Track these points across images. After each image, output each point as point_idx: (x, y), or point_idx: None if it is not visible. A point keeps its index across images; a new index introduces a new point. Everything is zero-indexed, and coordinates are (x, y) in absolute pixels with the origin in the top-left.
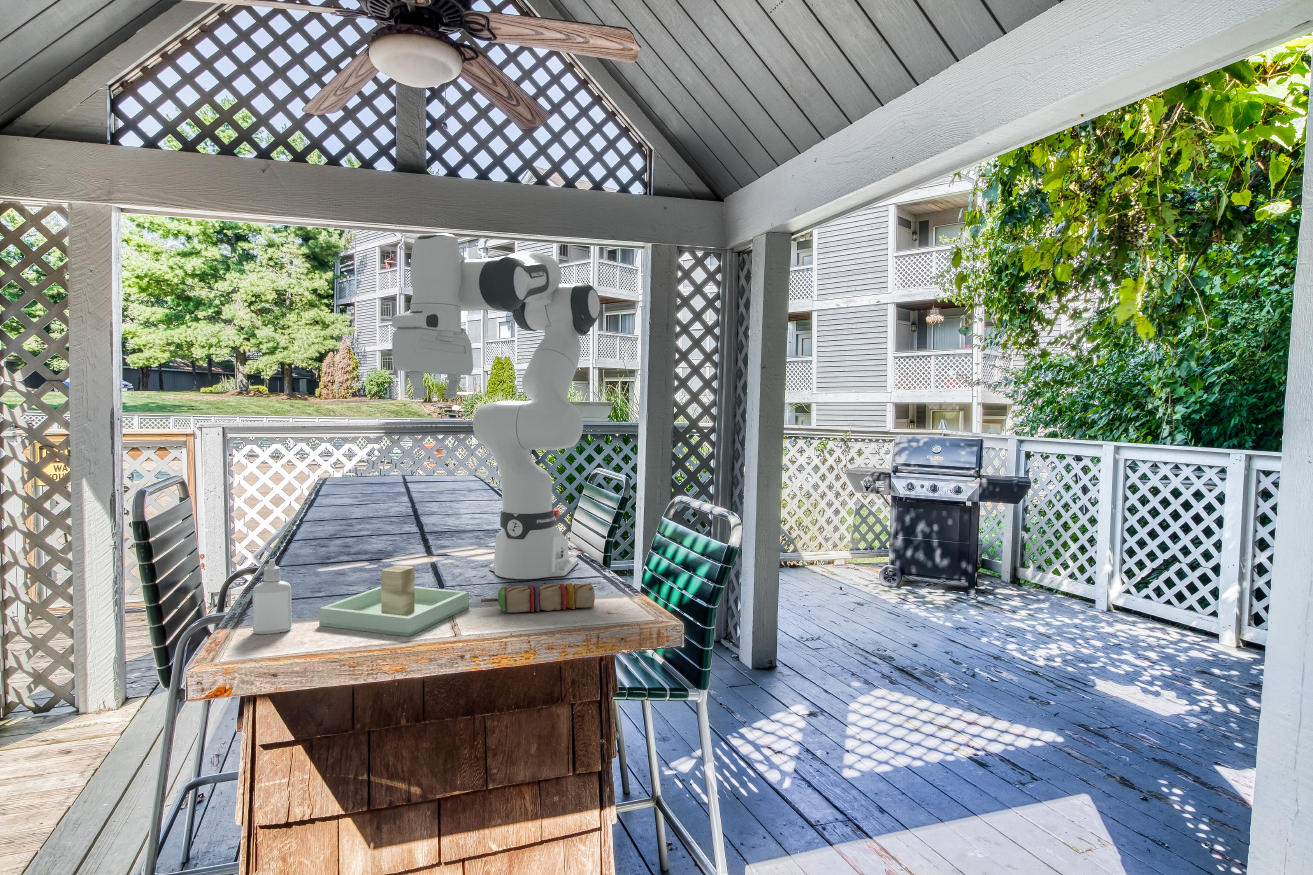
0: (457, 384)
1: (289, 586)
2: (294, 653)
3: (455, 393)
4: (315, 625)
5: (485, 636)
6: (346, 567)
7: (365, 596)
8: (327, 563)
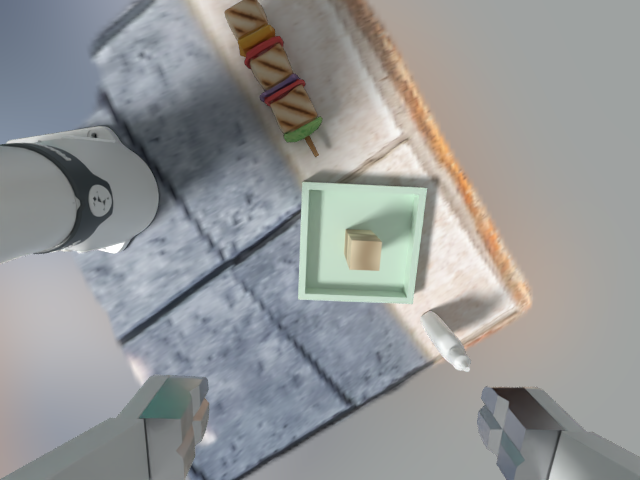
0: (77, 454)
1: (446, 334)
2: (486, 261)
3: (152, 395)
4: None
5: (400, 104)
6: None
7: (347, 294)
8: None
